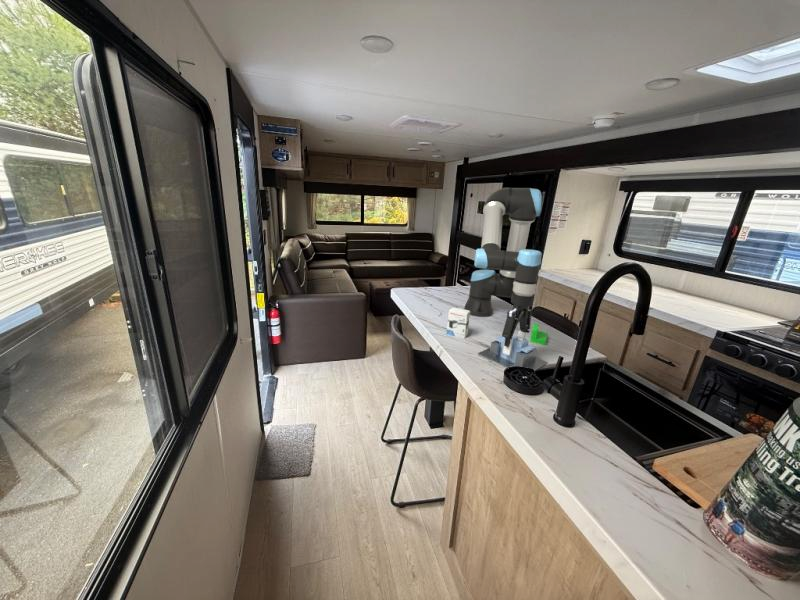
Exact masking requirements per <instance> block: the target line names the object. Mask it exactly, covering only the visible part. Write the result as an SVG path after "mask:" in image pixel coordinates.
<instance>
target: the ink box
mask: <svg viewBox="0 0 800 600" xmlns="http://www.w3.org/2000/svg"><path fill="white" fill-rule="evenodd" d="M470 316H471V315H470V311H469V310H464V308H463V309H462V308H459V307H455V306H454V307H451V308H450V309H449V310H448V316H447V322H446V323H447V326H446V332H445V334H446V335H449V336H452V337H456V338H460V339H464V340H465V339H466V337H467V336H468V334H469V333H468V332H469V325H470Z"/></svg>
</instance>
